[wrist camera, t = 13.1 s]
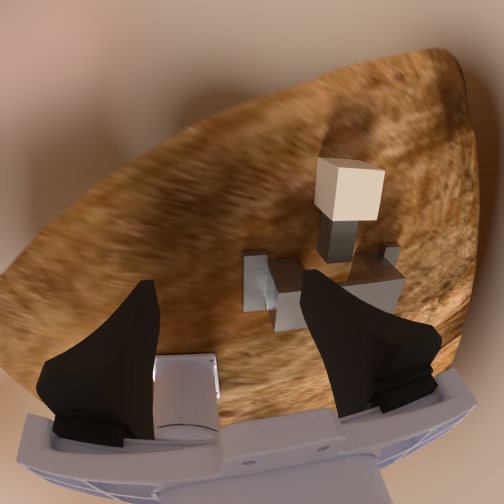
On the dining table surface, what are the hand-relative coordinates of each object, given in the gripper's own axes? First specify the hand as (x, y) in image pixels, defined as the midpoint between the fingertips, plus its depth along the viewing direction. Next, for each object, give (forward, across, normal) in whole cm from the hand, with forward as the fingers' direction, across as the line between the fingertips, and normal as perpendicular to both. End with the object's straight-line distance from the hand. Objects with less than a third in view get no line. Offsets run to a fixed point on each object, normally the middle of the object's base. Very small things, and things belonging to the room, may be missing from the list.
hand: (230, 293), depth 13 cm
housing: (+10, -10, +6) cm, 16 cm away
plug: (+10, -10, 0) cm, 14 cm away
